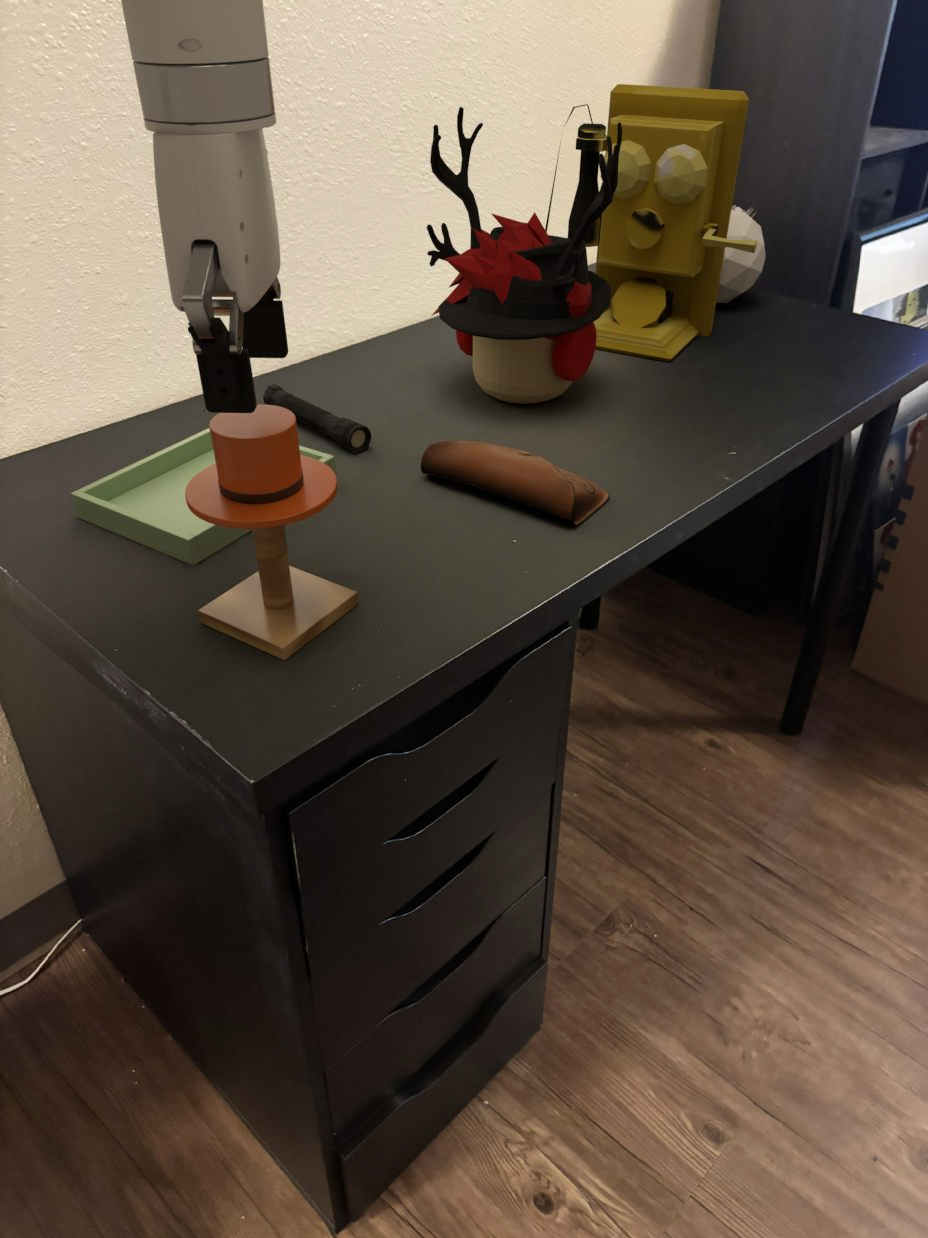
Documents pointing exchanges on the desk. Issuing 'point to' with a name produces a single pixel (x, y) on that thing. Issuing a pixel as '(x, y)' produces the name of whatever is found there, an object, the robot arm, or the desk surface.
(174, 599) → the desk surface
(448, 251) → the decorative hat
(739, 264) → the geodesic sphere
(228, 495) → the small hat
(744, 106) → the vintage telephone
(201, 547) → the tray
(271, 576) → the hat stand
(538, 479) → the sunglasses case
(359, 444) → the flashlight
